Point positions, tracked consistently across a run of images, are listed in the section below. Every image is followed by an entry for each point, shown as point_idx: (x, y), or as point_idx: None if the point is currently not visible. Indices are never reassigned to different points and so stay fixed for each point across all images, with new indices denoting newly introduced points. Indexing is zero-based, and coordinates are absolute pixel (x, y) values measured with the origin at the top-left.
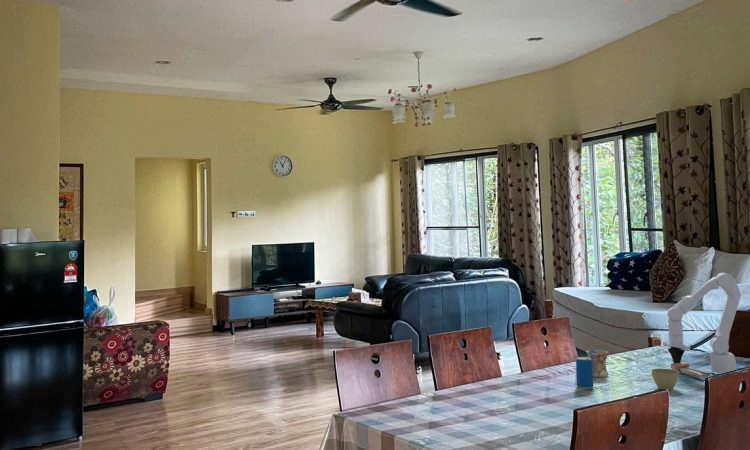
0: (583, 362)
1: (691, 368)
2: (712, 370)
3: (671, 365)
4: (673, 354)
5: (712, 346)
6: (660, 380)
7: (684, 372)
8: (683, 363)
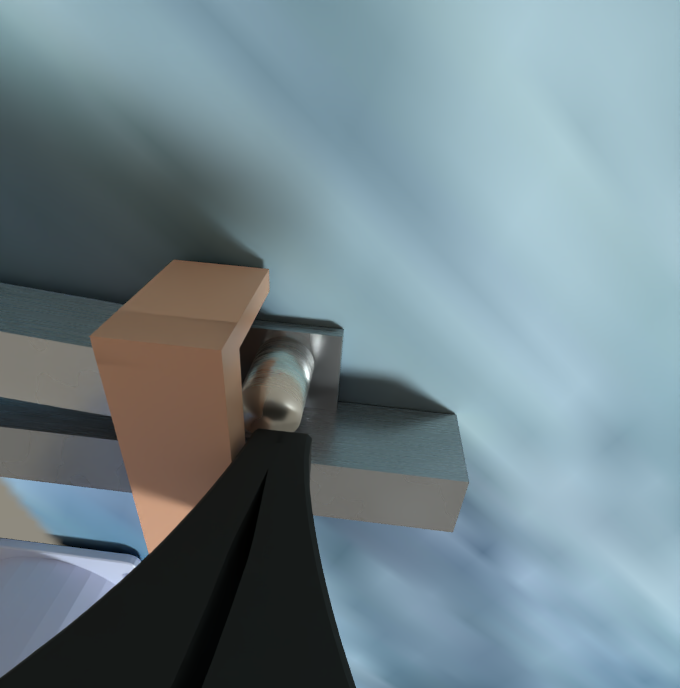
0: None
1: (26, 454)
2: (45, 581)
3: (448, 457)
4: (176, 633)
5: None
6: None
7: (3, 297)
8: (156, 509)
